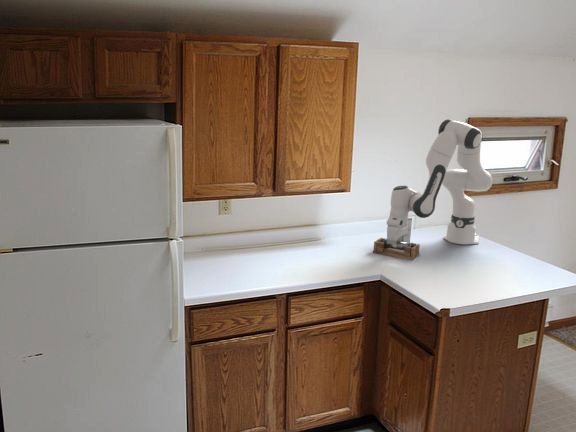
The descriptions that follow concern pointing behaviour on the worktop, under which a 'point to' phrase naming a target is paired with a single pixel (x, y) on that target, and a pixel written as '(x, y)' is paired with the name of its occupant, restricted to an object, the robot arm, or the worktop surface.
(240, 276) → the worktop surface
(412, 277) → the worktop surface
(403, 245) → the cylinder
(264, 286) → the worktop surface
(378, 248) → the cradle
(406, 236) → the syrup box
